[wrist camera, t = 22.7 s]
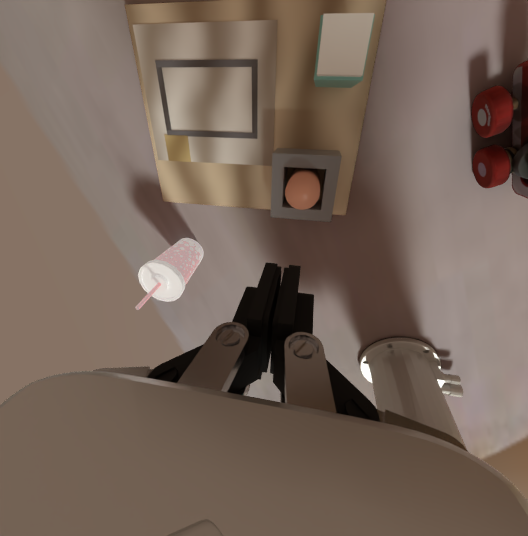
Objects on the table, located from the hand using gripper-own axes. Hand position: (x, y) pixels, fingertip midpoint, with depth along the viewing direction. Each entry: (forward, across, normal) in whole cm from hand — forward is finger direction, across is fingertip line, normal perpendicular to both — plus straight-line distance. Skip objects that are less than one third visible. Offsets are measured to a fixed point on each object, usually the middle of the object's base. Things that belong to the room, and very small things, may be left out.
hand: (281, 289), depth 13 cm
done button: (+22, 0, 0) cm, 22 cm away
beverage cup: (+23, +17, +12) cm, 31 cm away
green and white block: (+22, -2, -11) cm, 25 cm away
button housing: (+22, 0, 0) cm, 22 cm away
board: (+23, +7, -6) cm, 25 cm away
